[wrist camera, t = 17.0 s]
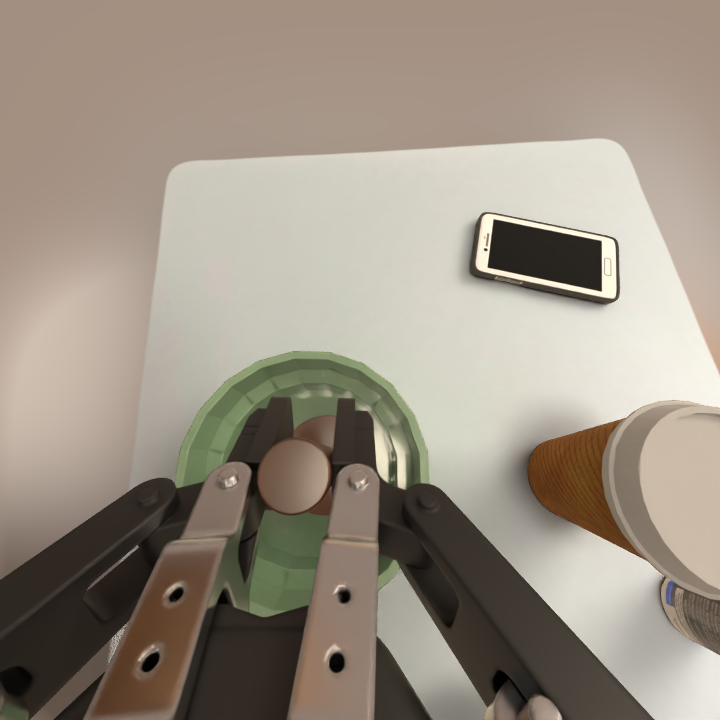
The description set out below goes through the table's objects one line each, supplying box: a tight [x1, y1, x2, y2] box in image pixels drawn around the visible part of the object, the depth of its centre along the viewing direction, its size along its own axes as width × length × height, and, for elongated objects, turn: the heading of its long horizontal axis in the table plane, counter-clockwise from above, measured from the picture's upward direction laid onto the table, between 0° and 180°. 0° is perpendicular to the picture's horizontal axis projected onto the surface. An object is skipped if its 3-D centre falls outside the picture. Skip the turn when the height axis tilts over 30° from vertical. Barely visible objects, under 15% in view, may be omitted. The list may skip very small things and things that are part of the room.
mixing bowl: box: [174, 351, 429, 617], centre depth 23 cm, size 16×16×6 cm
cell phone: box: [471, 212, 620, 303], centre depth 32 cm, size 8×15×1 cm, turn 77°
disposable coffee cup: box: [528, 400, 720, 600], centre depth 20 cm, size 10×10×12 cm
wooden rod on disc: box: [257, 415, 336, 516], centre depth 15 cm, size 6×6×14 cm
